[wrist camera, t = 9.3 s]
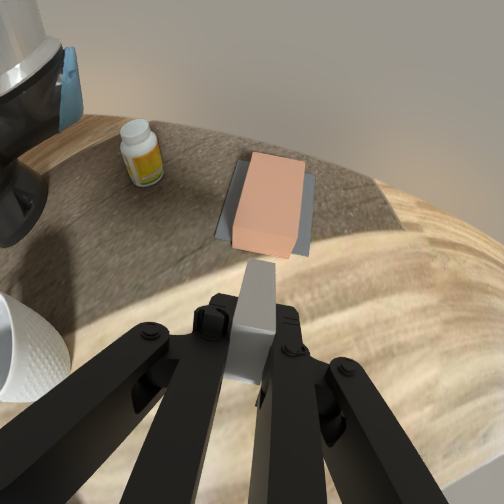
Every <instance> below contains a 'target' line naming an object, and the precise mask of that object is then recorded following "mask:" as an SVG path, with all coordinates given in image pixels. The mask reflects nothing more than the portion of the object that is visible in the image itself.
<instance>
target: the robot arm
mask: <svg viewBox="0 0 504 504" xmlns="http://www.w3.org/2000/svg"><path fill="white" fill-rule="evenodd" d="M82 114H83V100H82V93H81V86H80V79H79V72H78V64H77V56H76V52H75V48H74V47H66V48H65V49H64V50H63V48H62V45H61V42H60V40H59V39H58V38H55V37H50V36H47V35H46V34H45V31H44V27H43V24H42V21H41V17H40V13H39V10H38V6H37V1H36V0H0V247H1V248H6V247H10V246H12V245H14V244H16V243H17V242H19V241H20V240H21V239H22V238H23V237H24V236H25V235H26V234H27V233H28V232H29V231H30V230H31V229H32V227H33V226H34V224H35V223H36V221H37V220H38V218H39V216H40V215H41V213H42V210H43V208H44V205H45V202H46V198H47V186H46V183H45V182H44V180H43V179H42V177H41V176H40V175H39V174H38V173H37V172H36V171H34V170H33V169H31V168H30V167H28V166H27V165H25V164H24V163H22V162H21V161H19V160H18V159H17V158H18V157H19V156H21V155H22V154H24V153H25V152H27V151H28V150H30V149H32V148H33V147H35V146H36V145H38V144H40V143H41V142H43V141H45V140H47V139H48V138H50V137H52V136H54V135H55V134H57V133H58V134H60V133H61V132H62V130H64V129H66V128H67V127H69V126H71V125H73V124H74V123H76V122H77V121H79V120H80V118H81V117H82ZM223 378H224V379H229V380H234V381H239V382H245V383H250V384H256V385H260V383H261V380H262V384H261V388H260V392H259V395H258V398H257V401H256V404H255V406H256V407H257V417H256V428H255V439H254V449H253V460H252V469H251V479H250V489H249V498H248V504H327V493H326V481H325V470H324V460H325V462H326V465H327V467H328V470H329V472H330V475H331V477H332V480H333V482H334V485H335V487H336V490H337V492H338V495H339V497H340V500H341V502H342V504H449V503H448V502H447V500H446V498H445V497H444V495H443V493H442V491H441V490H440V488H439V486H438V485H437V483H436V481H435V480H434V478H433V476H432V475H431V473H430V471H429V470H428V468H427V467H426V465H425V463H424V462H423V460H422V458H421V457H420V455H419V454H418V452H417V450H416V449H415V447H414V446H413V444H412V442H411V441H410V439H409V438H408V436H407V435H406V433H405V431H404V430H403V428H402V427H401V425H400V424H399V422H398V421H397V419H396V417H395V416H394V414H393V413H392V411H391V410H390V408H389V407H388V405H387V404H386V402H385V401H384V399H383V398H382V396H381V395H380V393H379V392H378V390H377V389H376V387H375V386H374V384H373V383H372V381H371V380H370V378H369V377H368V375H367V374H366V372H365V371H364V369H363V368H362V366H361V365H360V364H359V363H358V362H356V361H354V360H353V359H349V358H346V357H338V358H334V359H333V360H332V361H331V362H330V364H327V363H324V362H322V361H319V360H316V359H314V358H313V357H311V356H310V352H309V350H308V348H307V347H306V346H305V345H304V344H303V341H302V334H301V327H300V321H299V313H298V312H297V311H296V309H295V308H294V307H292V306H286V305H281V304H276V281H275V263H271V262H266V261H261V260H256V259H251V258H249V259H248V263H247V267H246V270H245V274H244V278H243V282H242V286H241V290H240V294H239V297H235V296H231V295H226V294H221V293H218V294H216V295H214V296H213V297H212V298H211V300H210V302H209V305H206V306H201V307H199V308H197V309H196V310H195V311H194V322H193V331H192V333H190V334H186V335H169V331H168V329H167V328H166V327H165V326H163V325H162V324H159V323H156V322H144V323H140V324H138V325H136V326H135V327H133V328H132V329H131V330H129V331H128V332H126V333H125V334H124V335H122V336H121V337H120V338H118V339H117V340H116V341H114V342H113V343H112V344H110V345H109V346H108V347H106V348H105V349H104V350H102V351H101V352H100V353H98V354H97V355H96V356H95V357H93V358H92V359H91V360H89V361H88V362H87V363H85V364H84V365H83V366H81V367H80V368H79V369H77V370H76V371H75V372H73V373H72V374H71V375H69V376H68V377H67V378H66V379H64V380H63V381H62V382H60V383H59V384H58V385H56V386H55V387H54V388H52V389H51V390H50V391H49V392H47V393H46V394H45V395H43V396H42V397H41V398H39V399H38V400H37V401H36V402H34V403H33V404H32V405H30V406H29V407H28V408H26V409H25V410H24V411H23V412H21V413H20V414H19V415H17V416H16V417H15V418H14V419H12V420H11V421H10V422H9V423H7V424H6V425H5V426H3V427H2V428H1V429H0V504H65V503H66V502H67V501H68V500H69V499H70V498H71V497H72V496H73V495H74V494H75V493H76V492H77V491H78V490H79V489H80V487H81V486H82V485H83V484H84V483H85V482H86V481H87V480H88V479H89V478H90V477H91V476H92V475H93V474H94V473H95V471H96V470H97V469H98V468H99V467H100V466H101V465H102V464H103V463H104V462H105V461H106V460H107V458H108V457H109V456H110V455H111V454H112V453H113V452H114V451H115V450H116V449H117V447H118V446H119V445H120V444H121V443H122V442H123V441H124V440H125V439H126V437H127V436H128V435H129V434H130V433H131V432H132V431H133V430H134V428H135V427H136V426H137V425H138V424H139V423H140V422H141V420H142V419H143V418H144V417H145V416H146V415H147V414H148V413H149V411H150V410H151V409H152V408H153V407H154V406H155V404H156V403H157V402H158V401H159V400H160V399H161V398H162V396H163V395H164V396H163V399H162V401H161V403H160V406H159V408H158V410H157V413H156V415H155V417H154V420H153V422H152V424H151V427H150V429H149V432H148V434H147V436H146V439H145V441H144V444H143V446H142V448H141V451H140V453H139V456H138V458H137V461H136V463H135V465H134V468H133V470H132V473H131V475H130V478H129V480H128V483H127V485H126V488H125V490H124V493H123V495H122V498H121V501H120V503H119V504H195V499H196V495H197V490H198V486H199V482H200V477H201V473H202V468H203V464H204V460H205V455H206V451H207V447H208V442H209V438H210V433H211V429H212V425H213V420H214V416H215V412H216V407H217V403H218V398H219V394H220V390H221V384H222V379H223ZM323 457H324V460H323Z"/></svg>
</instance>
